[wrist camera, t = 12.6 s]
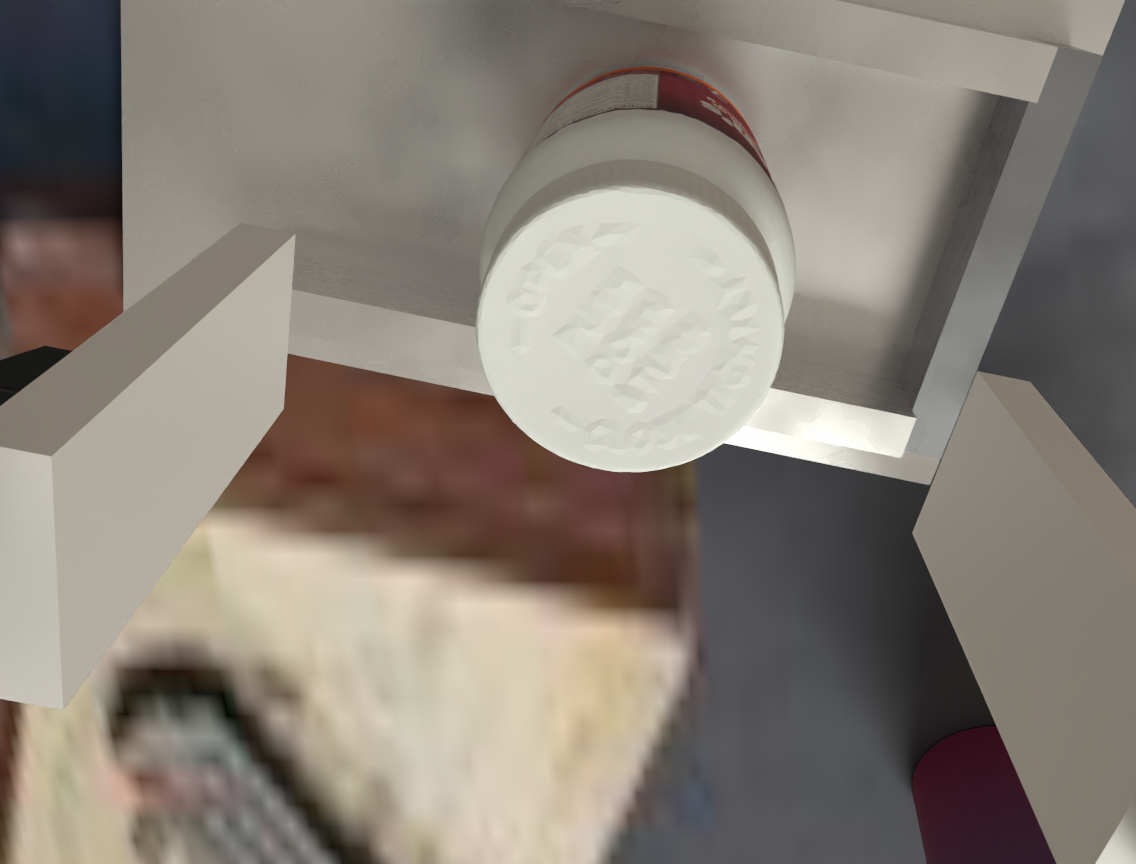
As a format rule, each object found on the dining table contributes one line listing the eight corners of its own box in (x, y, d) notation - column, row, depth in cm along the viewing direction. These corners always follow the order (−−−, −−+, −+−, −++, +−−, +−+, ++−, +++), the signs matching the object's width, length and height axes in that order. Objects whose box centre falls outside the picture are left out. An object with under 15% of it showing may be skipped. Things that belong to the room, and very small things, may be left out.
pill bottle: (800, 232, 27) (882, 413, 17) (596, 334, 29) (561, 554, 19) (696, 12, 25) (719, 71, 15) (482, 137, 27) (374, 265, 17)
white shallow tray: (133, 312, 31) (80, 352, 28) (130, -240, 24) (61, -261, 21) (924, 475, 31) (951, 530, 28) (1125, -29, 25) (1184, -23, 22)
